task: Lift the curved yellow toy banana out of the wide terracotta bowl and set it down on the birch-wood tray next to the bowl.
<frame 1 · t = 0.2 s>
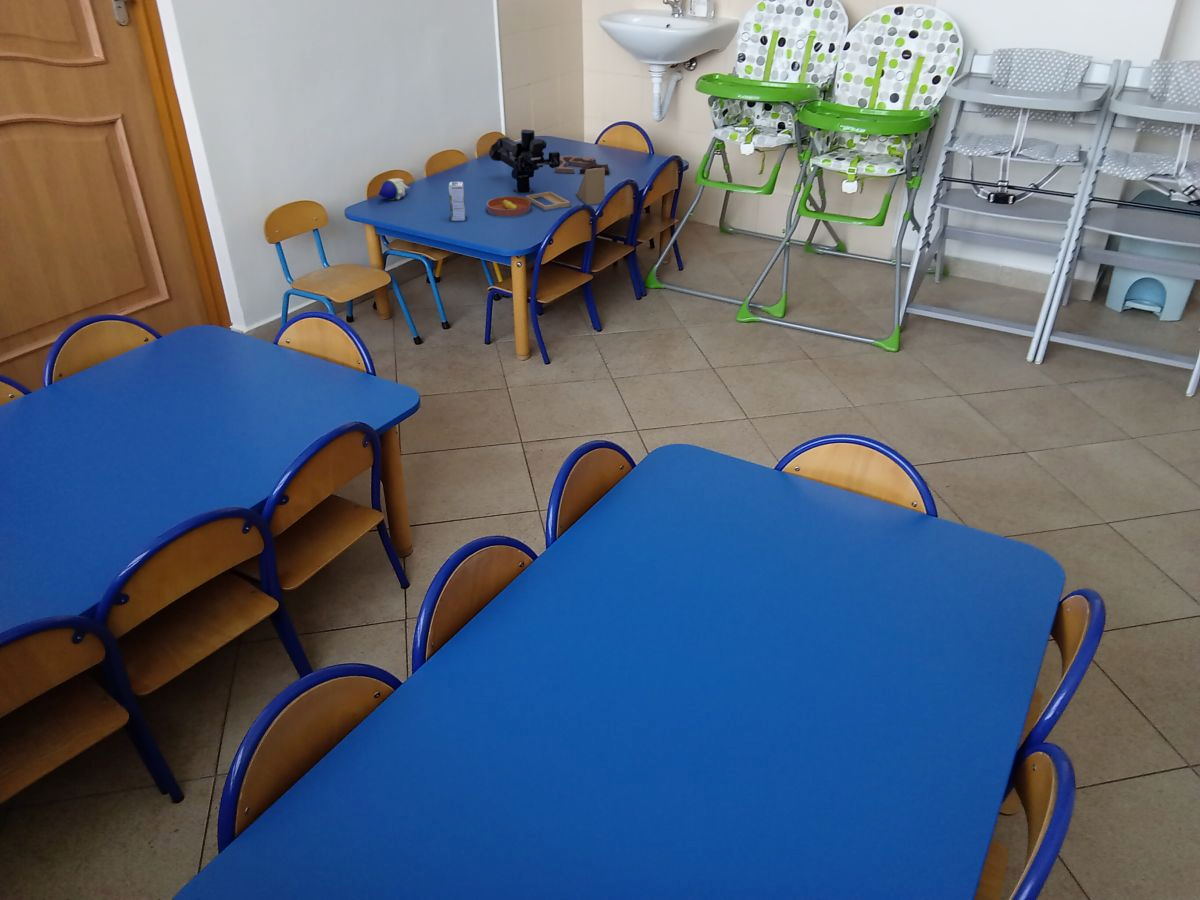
hand: (548, 166, 371), 17 cm above the table, tool horizontal, fingers open, 9 cm apart
tray: (547, 203, 384), on the table
bowl: (509, 210, 376), on the table
banana: (508, 209, 376), point 1 cm above the table, touching bowl
cartoon head: (394, 199, 390), on the table
wood carving: (584, 167, 432), on the table
sandwich container: (590, 199, 389), on the table
syrup box: (458, 219, 367), on the table
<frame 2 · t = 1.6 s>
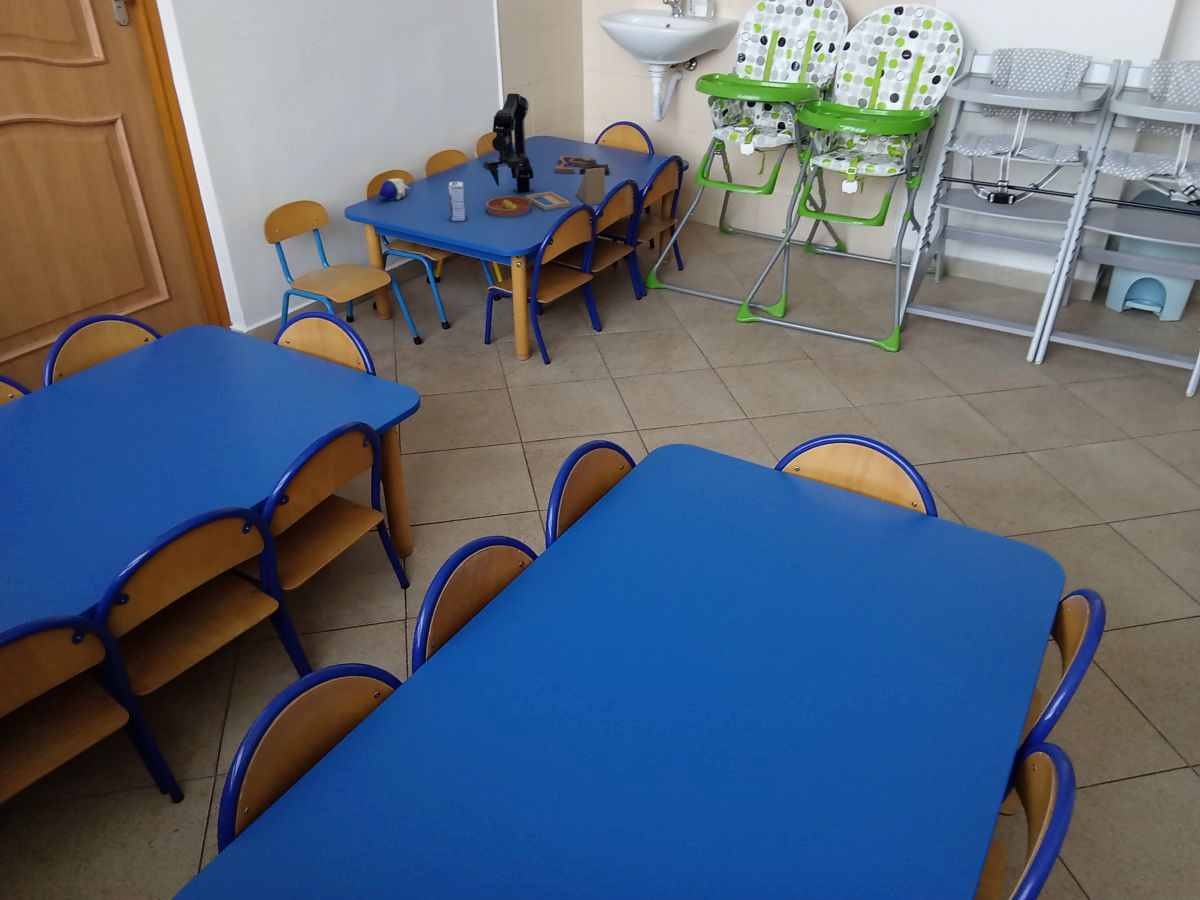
hand: (507, 183, 370), 11 cm above the table, tool pointing down, fingers open, 9 cm apart
nothing on the table moved.
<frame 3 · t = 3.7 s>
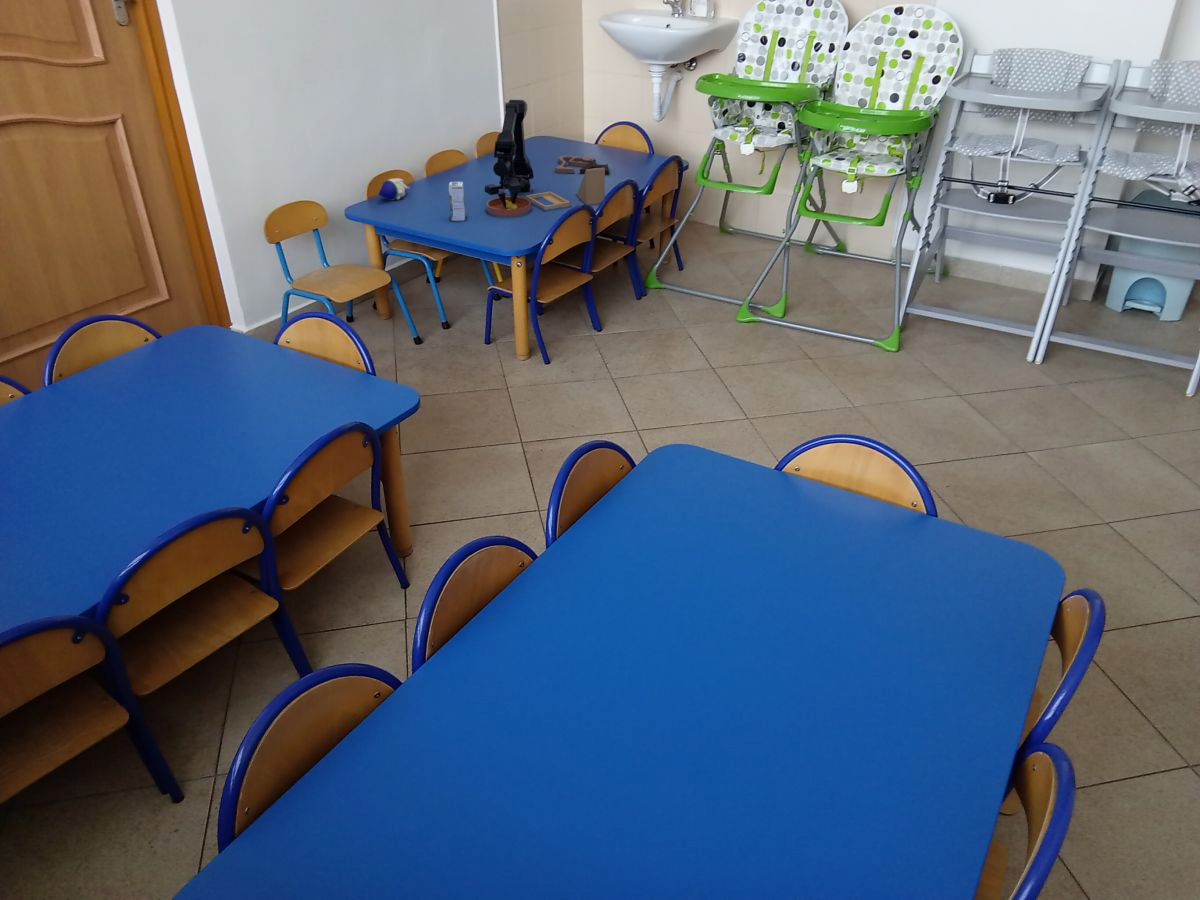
hand: (508, 207, 375), 1 cm above the table, tool pointing down, fingers closed on banana, 3 cm apart
banana: (509, 209, 376), point 1 cm above the table, touching bowl, gripper
everything else where it was.
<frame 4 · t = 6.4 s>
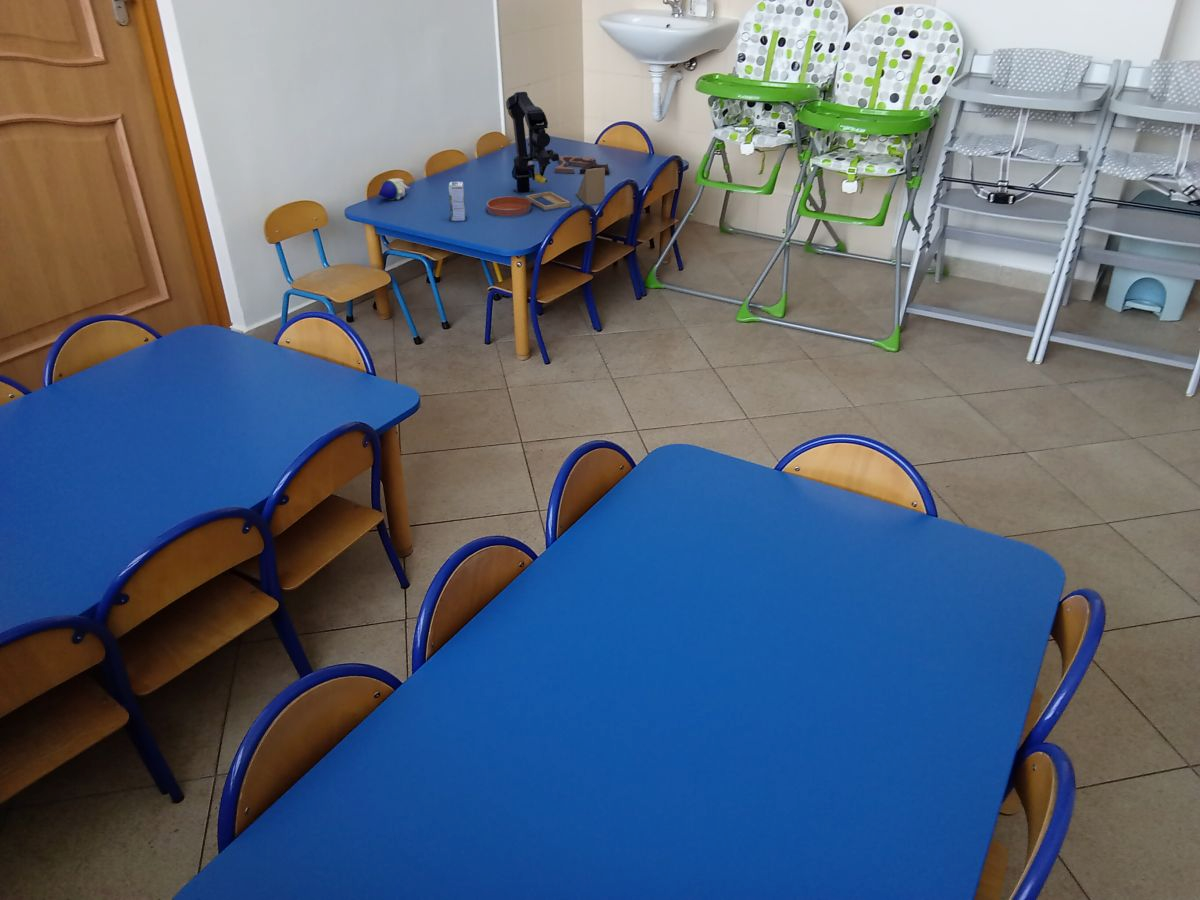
hand: (537, 179, 376), 11 cm above the table, tool pointing down, fingers closed on banana, 3 cm apart
banana: (537, 181, 377), point 10 cm above the table, touching gripper
everything else where it was.
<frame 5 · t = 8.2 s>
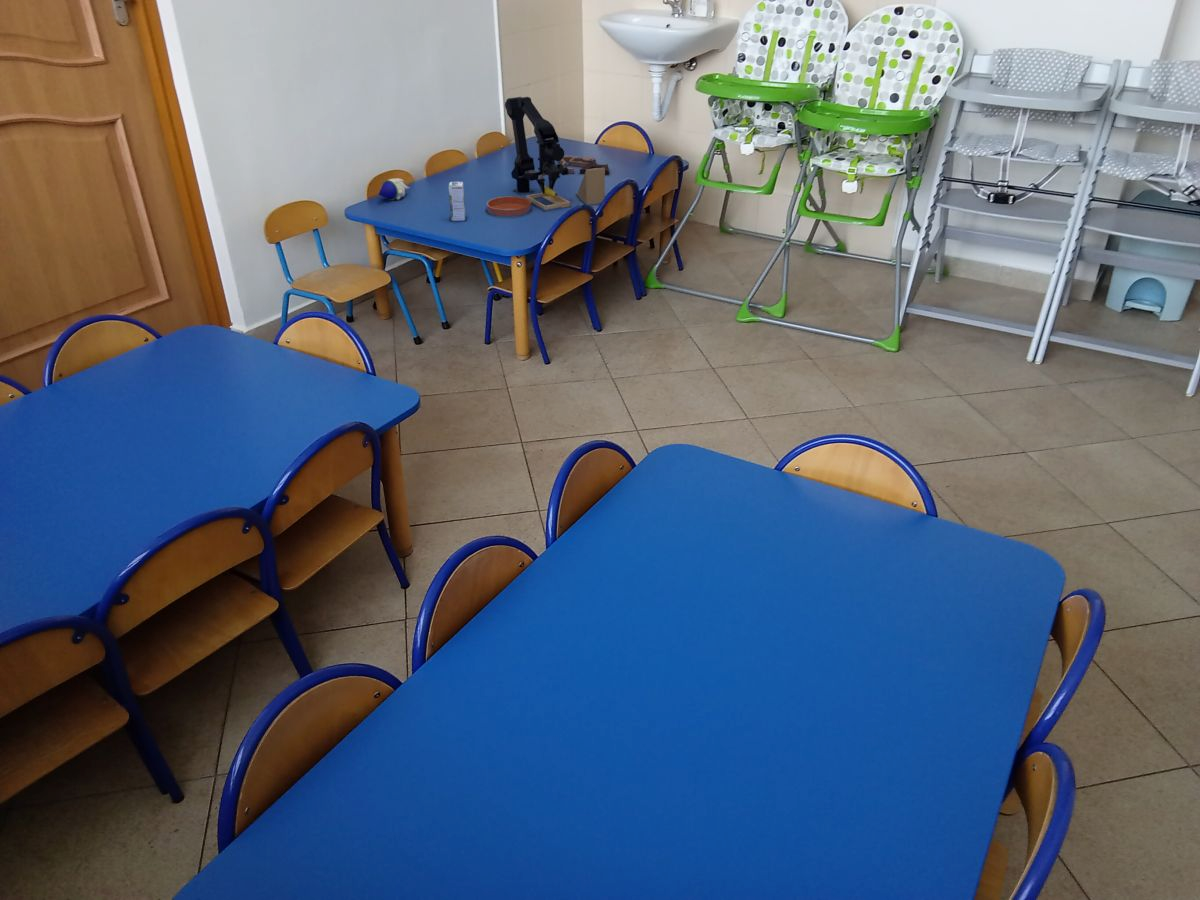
hand: (547, 193, 382), 4 cm above the table, tool pointing down, fingers closed on banana, 3 cm apart
banana: (547, 194, 382), point 4 cm above the table, touching gripper
everything else where it was.
when the fingers open (1 cm above the table, at t = 9.3 s): banana stays where it is, resting on tray.
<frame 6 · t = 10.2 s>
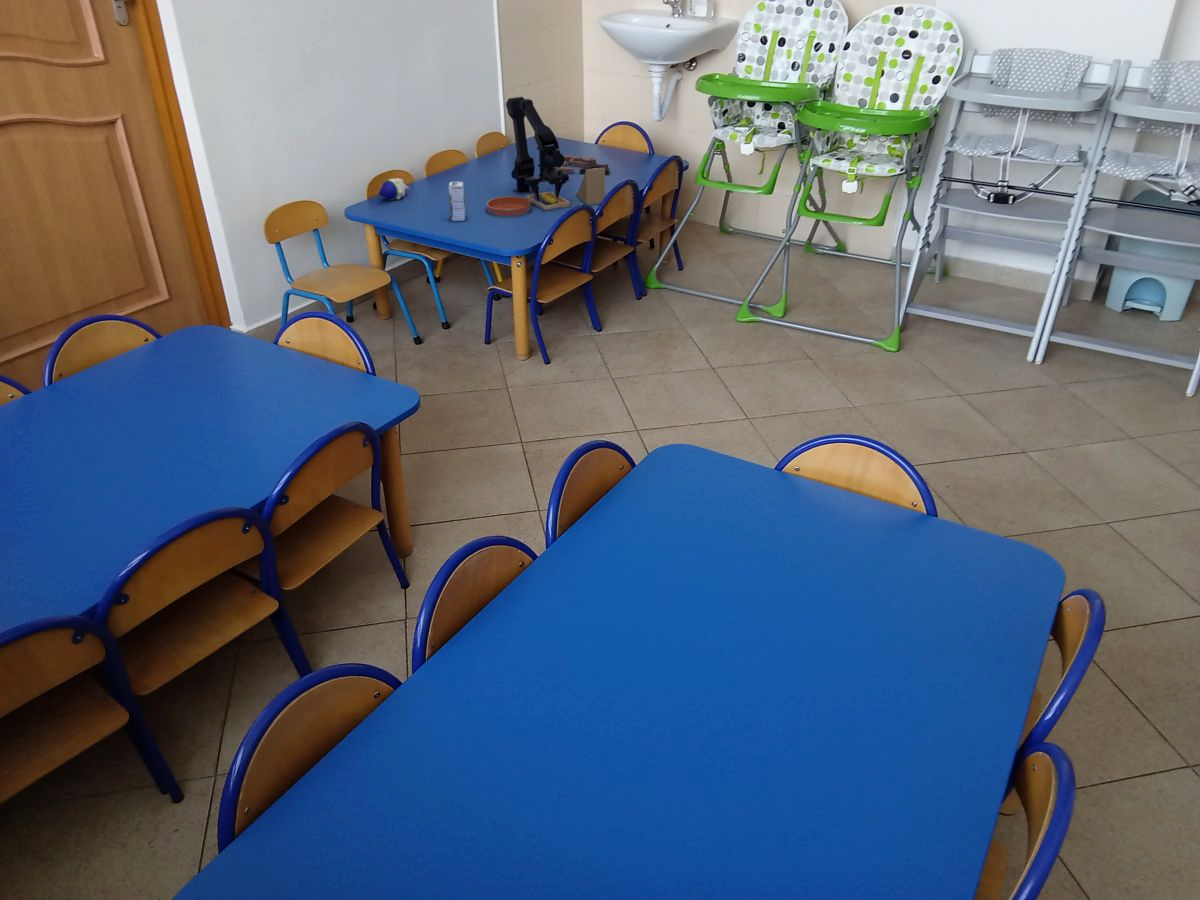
hand: (547, 199, 383), 2 cm above the table, tool pointing down, fingers open, 9 cm apart
banana: (547, 202, 384), resting on tray
everything else where it was.
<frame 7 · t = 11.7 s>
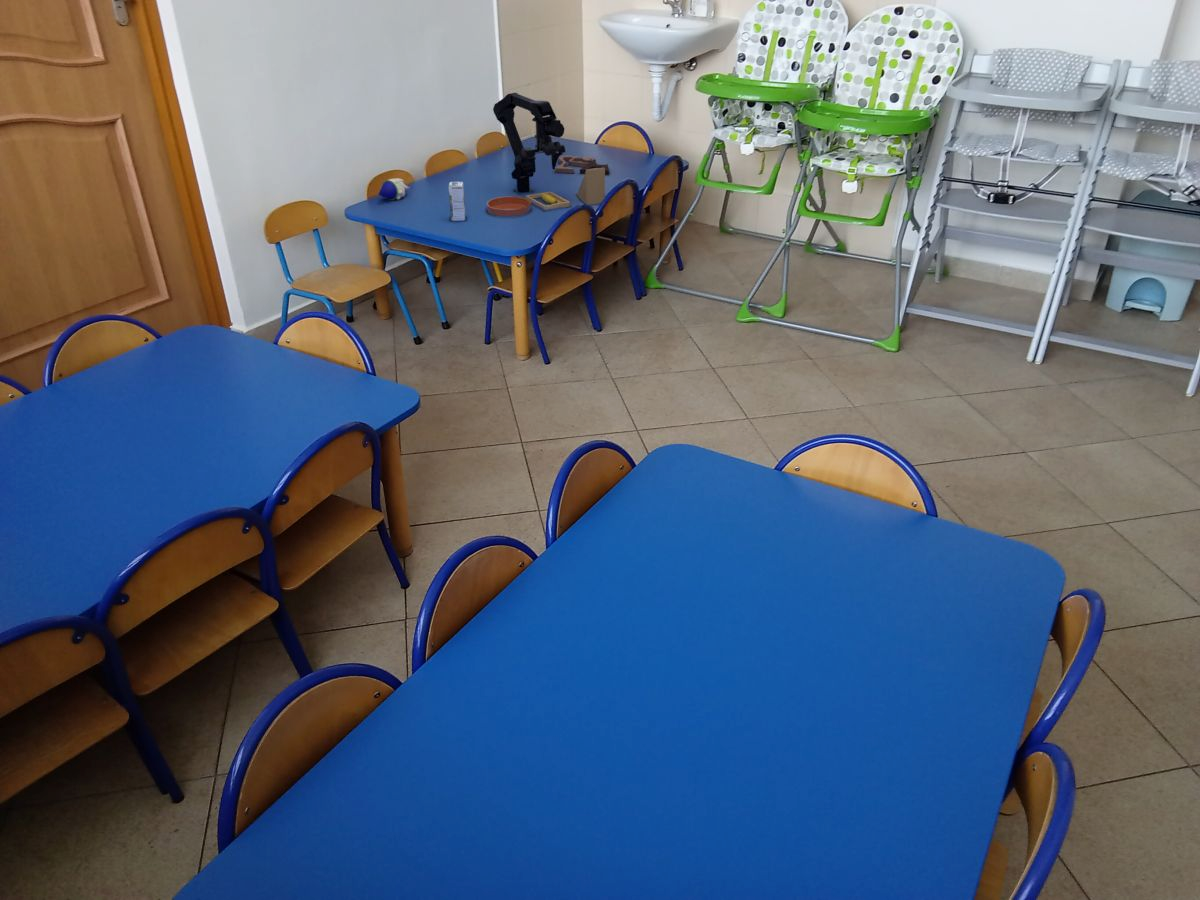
hand: (544, 170, 384), 12 cm above the table, tool pointing down, fingers open, 9 cm apart
nothing on the table moved.
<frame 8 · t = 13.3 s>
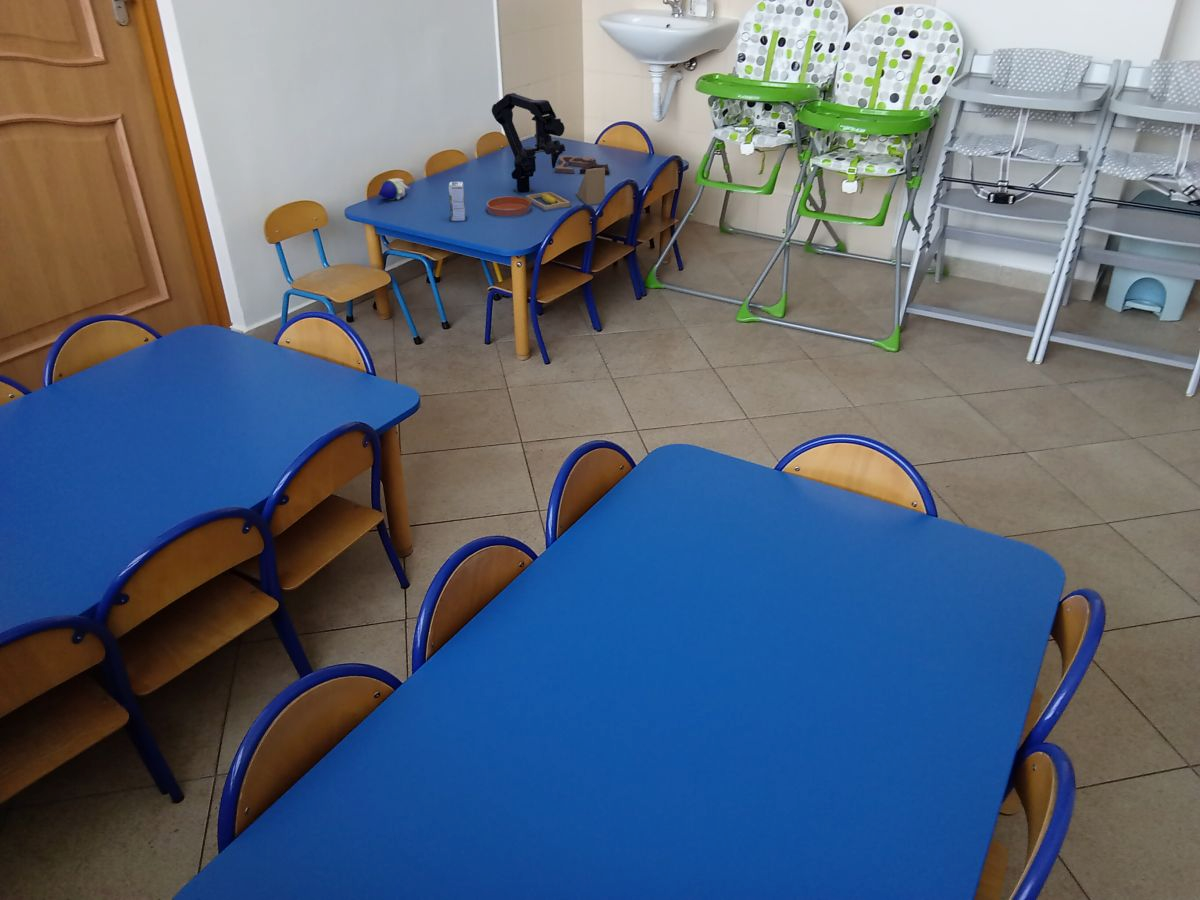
hand: (544, 169, 384), 12 cm above the table, tool pointing down, fingers open, 9 cm apart
nothing on the table moved.
at the end: banana inside the target area in the tray (0.0 cm from its centre), point 0.5 cm above the tray's base; banana touching tray; the gripper is holding nothing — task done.
